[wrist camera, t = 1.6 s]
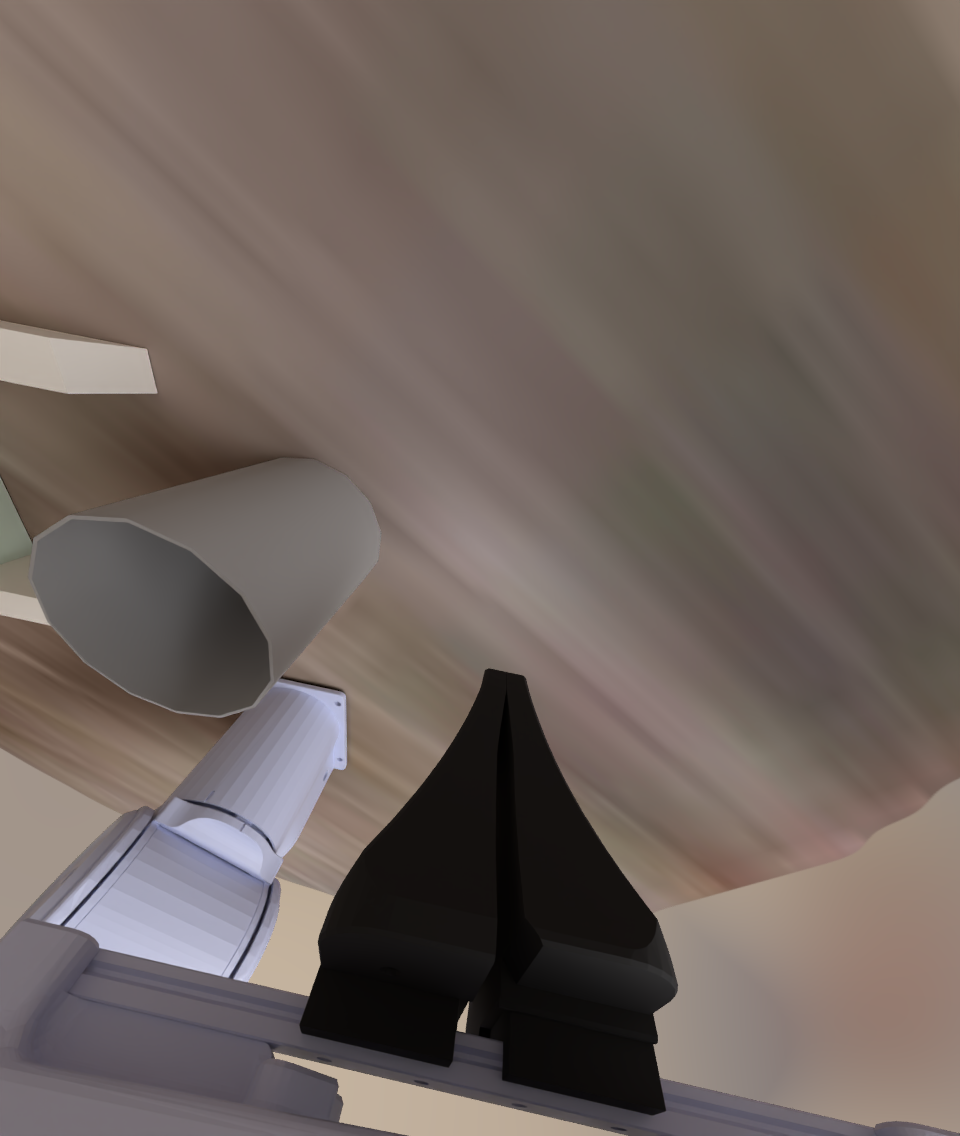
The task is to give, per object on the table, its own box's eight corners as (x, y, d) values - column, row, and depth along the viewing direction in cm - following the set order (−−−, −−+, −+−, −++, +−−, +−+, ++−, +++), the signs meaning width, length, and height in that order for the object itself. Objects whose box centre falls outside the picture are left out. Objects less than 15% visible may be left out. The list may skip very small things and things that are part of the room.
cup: (218, 512, 21) (-6, 601, 12) (301, 423, 18) (85, 454, 9) (322, 610, 23) (200, 742, 15) (409, 546, 20) (322, 663, 12)
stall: (209, 611, 25) (156, 648, 21) (22, 571, 25) (-62, 601, 21) (146, 348, 17) (48, 337, 14) (-121, 296, 17) (-286, 272, 14)
